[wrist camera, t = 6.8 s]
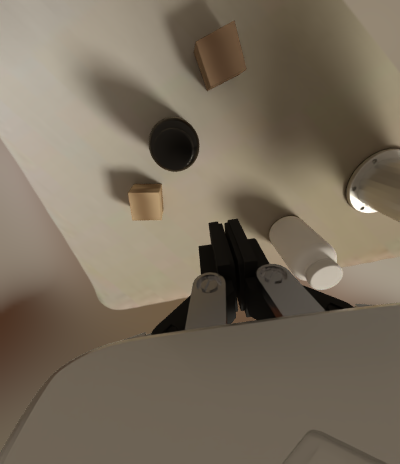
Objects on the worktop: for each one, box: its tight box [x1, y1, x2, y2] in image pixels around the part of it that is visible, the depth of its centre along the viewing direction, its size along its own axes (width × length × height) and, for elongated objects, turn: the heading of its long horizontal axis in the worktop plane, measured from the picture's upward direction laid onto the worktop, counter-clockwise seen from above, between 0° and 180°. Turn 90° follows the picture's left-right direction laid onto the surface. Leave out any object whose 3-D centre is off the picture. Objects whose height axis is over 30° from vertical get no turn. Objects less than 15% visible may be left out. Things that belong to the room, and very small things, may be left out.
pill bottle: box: [269, 216, 343, 290], centre depth 39 cm, size 8×8×15 cm
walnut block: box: [194, 21, 246, 91], centre depth 28 cm, size 5×5×5 cm
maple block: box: [128, 184, 163, 220], centre depth 37 cm, size 5×5×5 cm
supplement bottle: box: [149, 117, 199, 172], centre depth 30 cm, size 7×7×12 cm
